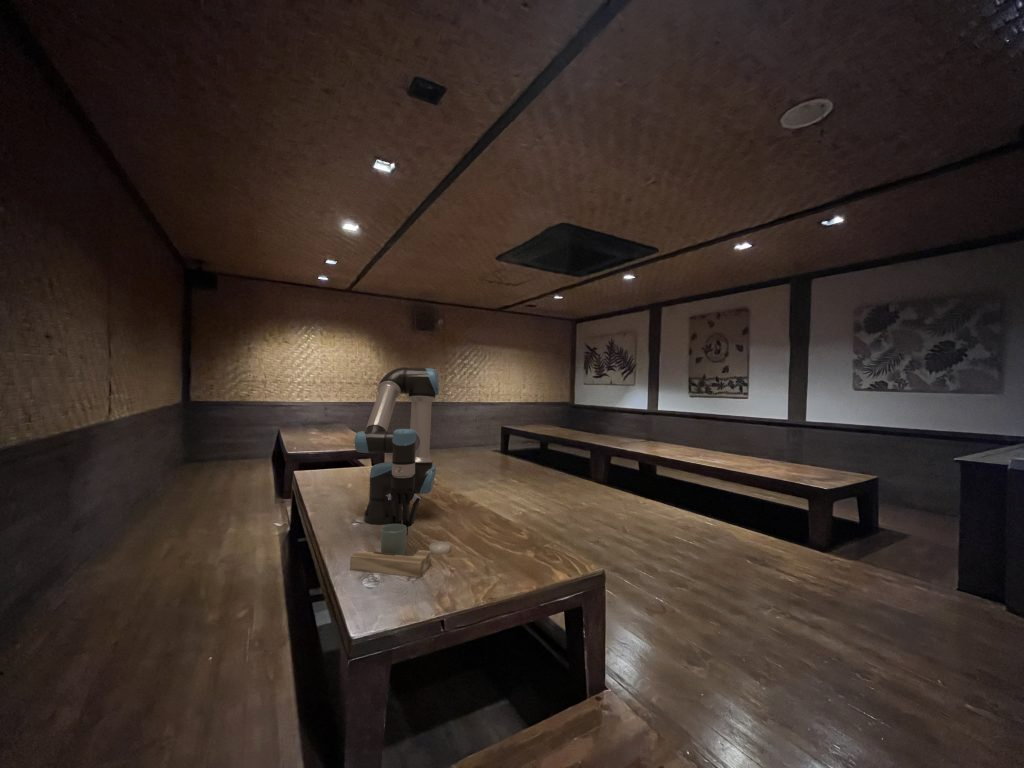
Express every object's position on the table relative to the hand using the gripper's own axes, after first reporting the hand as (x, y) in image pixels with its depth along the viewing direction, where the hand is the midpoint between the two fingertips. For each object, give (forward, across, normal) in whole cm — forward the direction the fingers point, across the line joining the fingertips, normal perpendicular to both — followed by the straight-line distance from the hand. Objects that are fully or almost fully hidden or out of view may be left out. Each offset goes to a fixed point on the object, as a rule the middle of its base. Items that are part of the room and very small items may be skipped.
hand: (401, 546), depth 132 cm
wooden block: (+2, +2, -11) cm, 11 cm away
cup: (+2, 0, -5) cm, 6 cm away
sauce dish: (+2, +12, +5) cm, 13 cm away
